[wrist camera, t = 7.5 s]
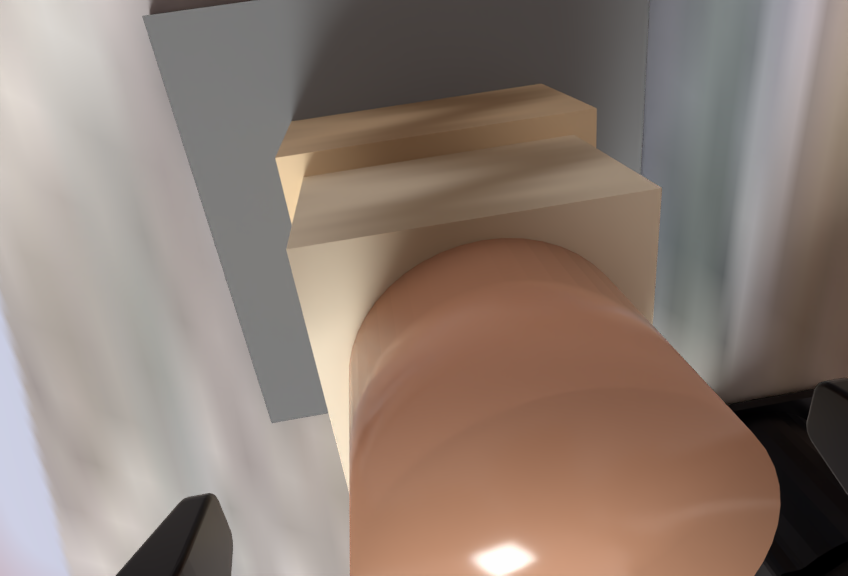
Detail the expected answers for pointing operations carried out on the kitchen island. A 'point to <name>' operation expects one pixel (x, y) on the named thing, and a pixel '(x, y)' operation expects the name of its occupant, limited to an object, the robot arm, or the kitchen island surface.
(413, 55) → the mat
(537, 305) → the peach rounded cylinder
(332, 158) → the base block
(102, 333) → the kitchen island surface
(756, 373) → the kitchen island surface
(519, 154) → the top block
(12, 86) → the kitchen island surface
